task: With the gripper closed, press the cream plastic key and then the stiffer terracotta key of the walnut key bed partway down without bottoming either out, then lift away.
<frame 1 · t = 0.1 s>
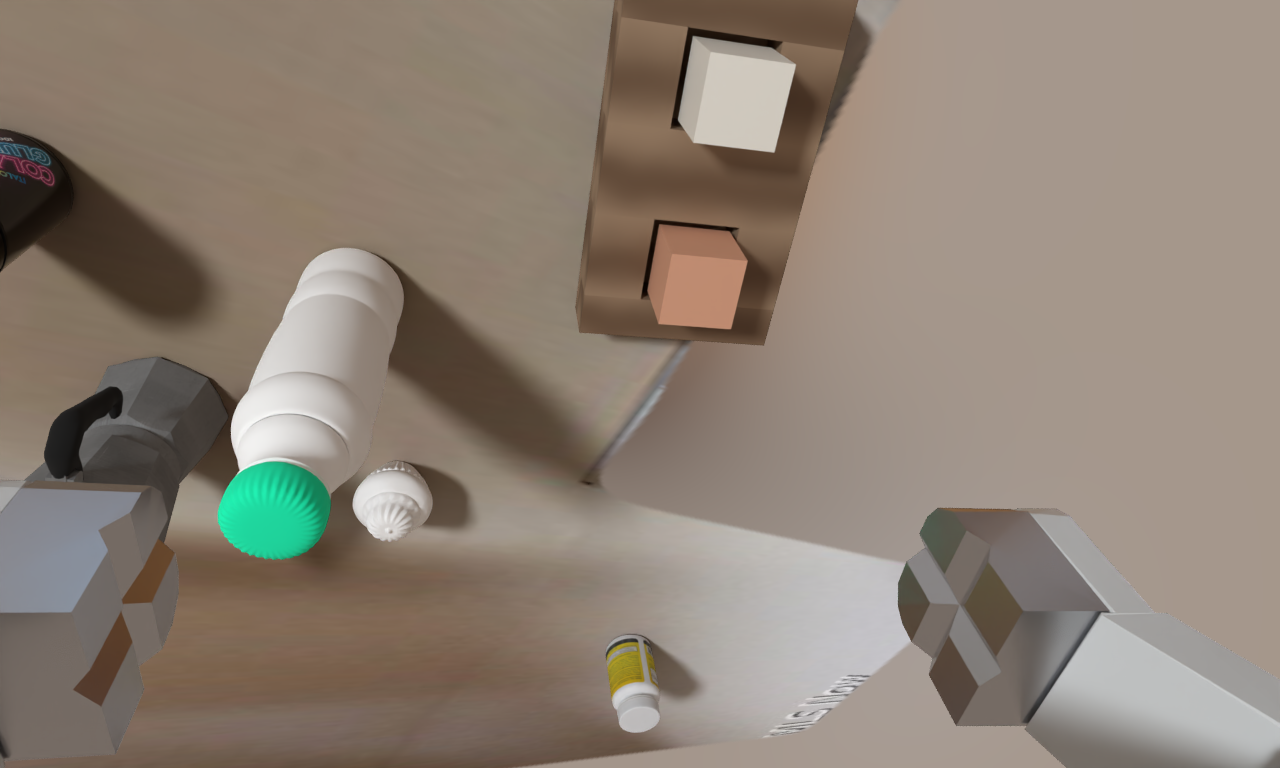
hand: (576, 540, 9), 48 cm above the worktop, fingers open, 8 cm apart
muffin: (398, 474, 67), on the worktop
water bottle: (354, 288, 58), on the worktop
coffeepot: (163, 393, 60), on the worktop
supplement bottle: (627, 646, 83), on the worktop
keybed: (694, 161, 56), on the worktop
terracotta key: (694, 276, 54), point 6 cm above the worktop, slide at 0.0 cm
supplement container: (19, 177, 50), on the worktop
cream key: (733, 93, 48), point 6 cm above the worktop, slide at 0.0 cm
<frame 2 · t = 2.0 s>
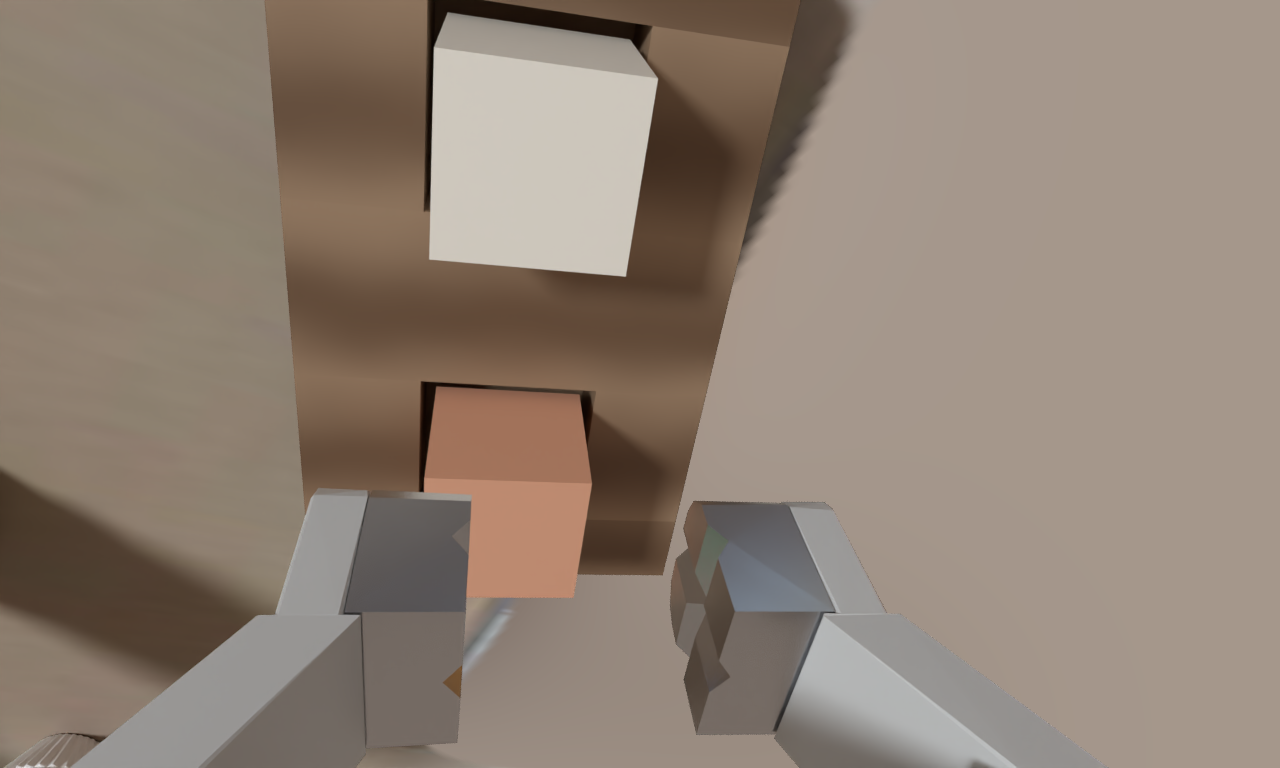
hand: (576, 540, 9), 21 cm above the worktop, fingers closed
muffin: (73, 748, 40), on the worktop
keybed: (515, 258, 29), on the worktop
terracotta key: (504, 491, 27), point 6 cm above the worktop, slide at 0.0 cm
cream key: (535, 142, 21), point 6 cm above the worktop, slide at 0.0 cm
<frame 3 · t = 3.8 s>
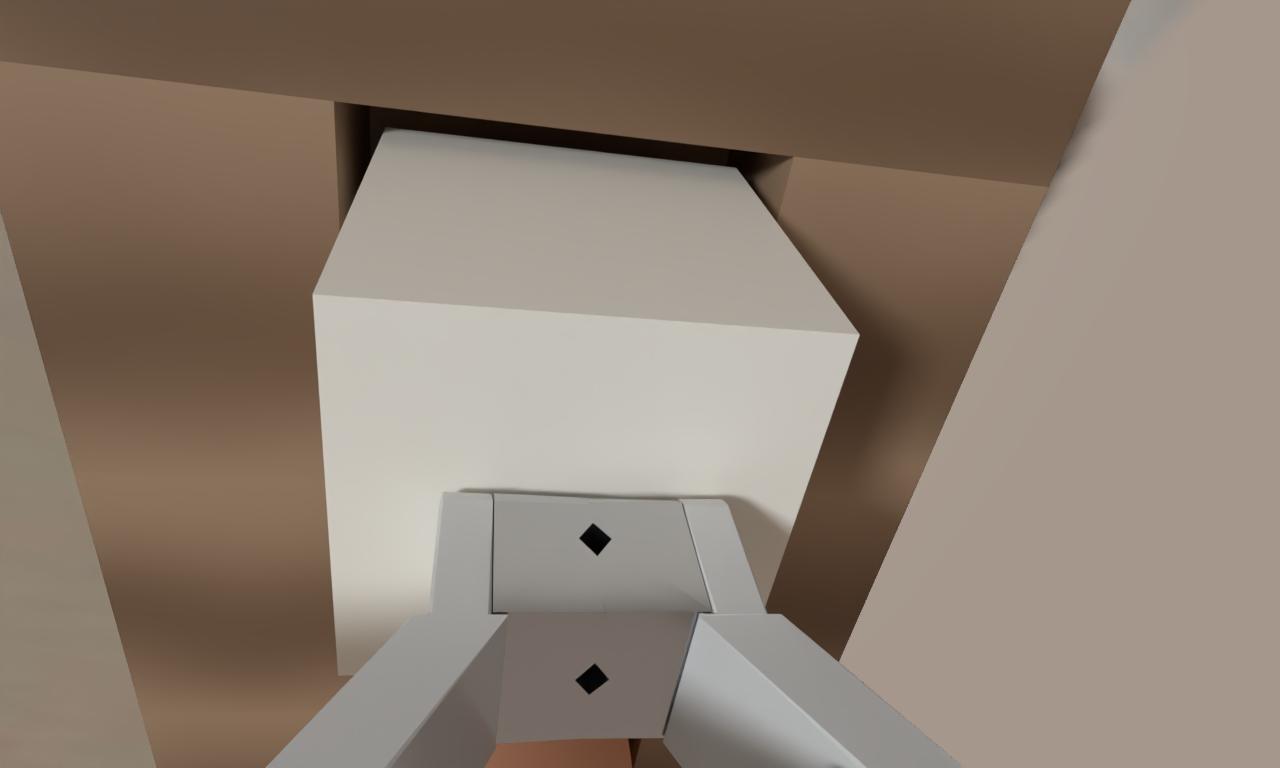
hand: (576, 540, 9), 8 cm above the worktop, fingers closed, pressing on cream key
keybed: (519, 472, 18), on the worktop
cream key: (560, 391, 11), point 6 cm above the worktop, slide at 0.4 cm, touching gripper
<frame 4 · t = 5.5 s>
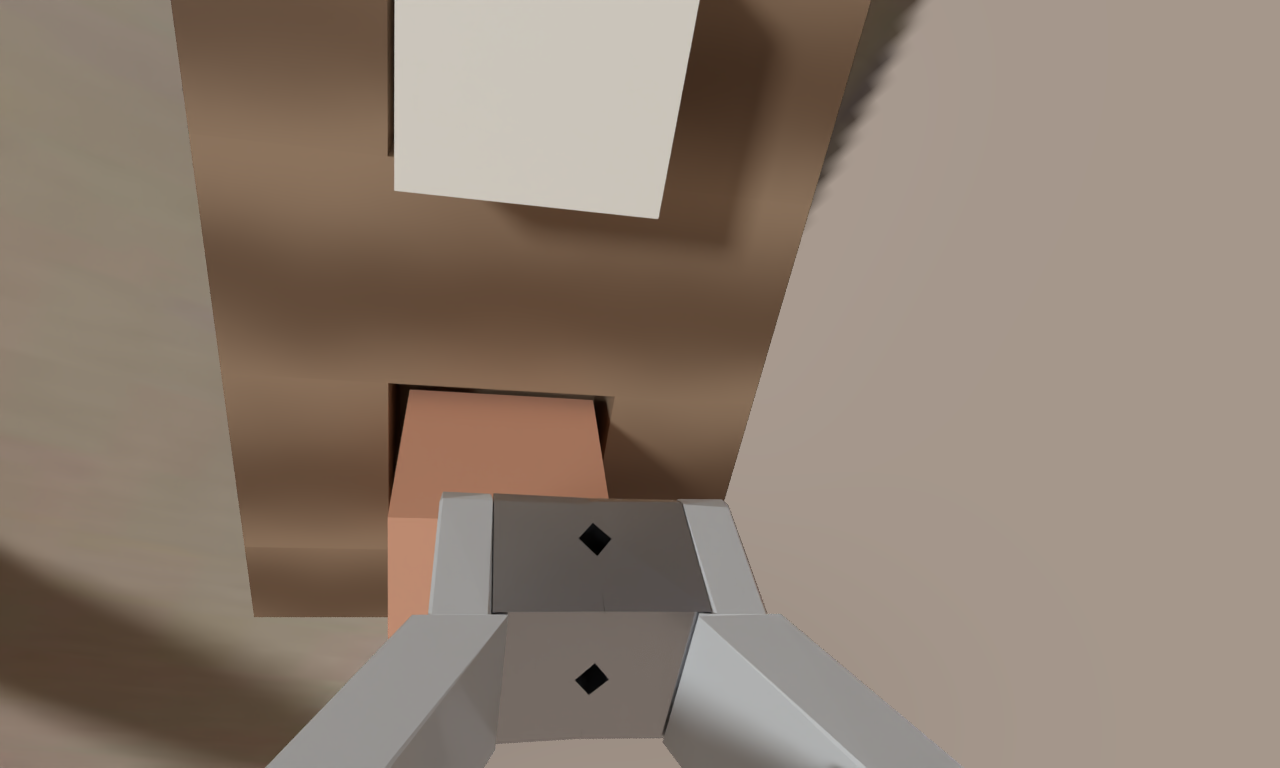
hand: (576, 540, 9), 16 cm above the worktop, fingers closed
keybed: (512, 226, 23), on the worktop
terracotta key: (496, 524, 21), point 6 cm above the worktop, slide at 0.0 cm
cream key: (538, 40, 16), point 5 cm above the worktop, slide at 1.2 cm
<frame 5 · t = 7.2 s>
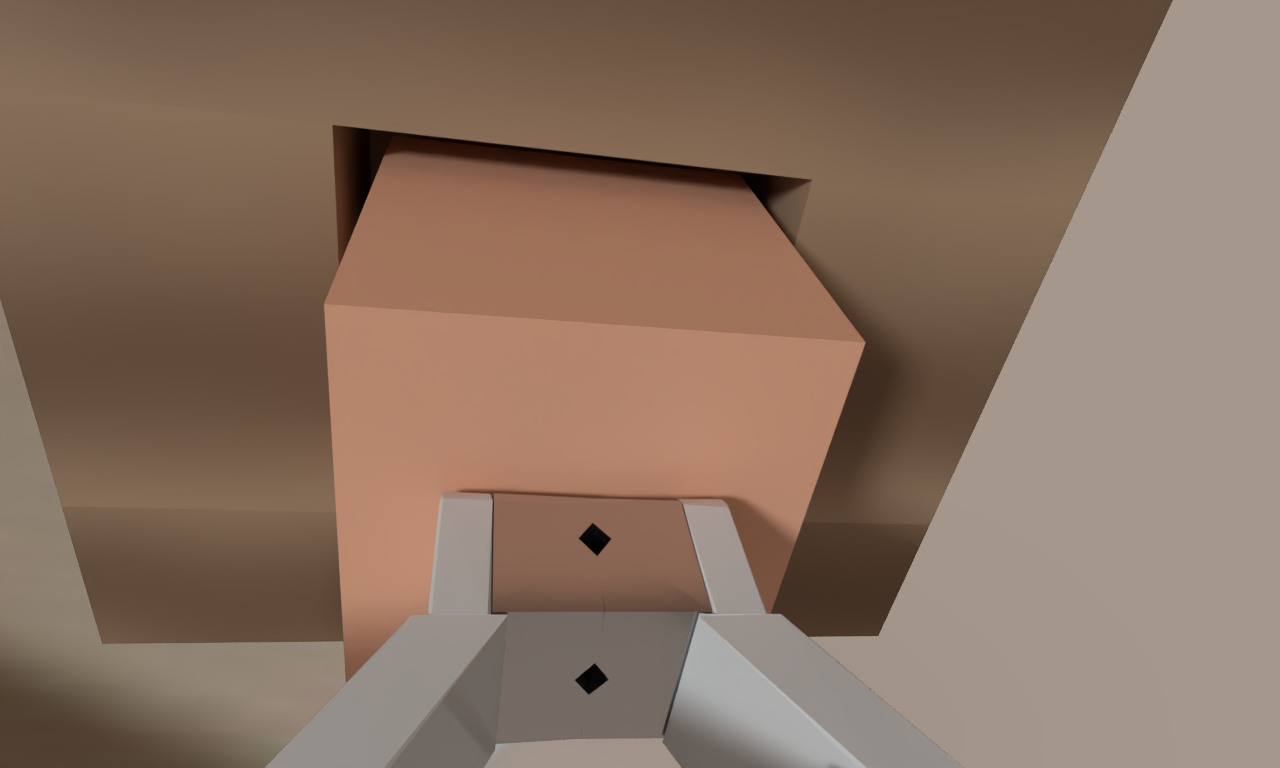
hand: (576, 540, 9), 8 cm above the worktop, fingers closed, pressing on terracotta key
terracotta key: (566, 398, 11), point 5 cm above the worktop, slide at 1.0 cm, touching gripper
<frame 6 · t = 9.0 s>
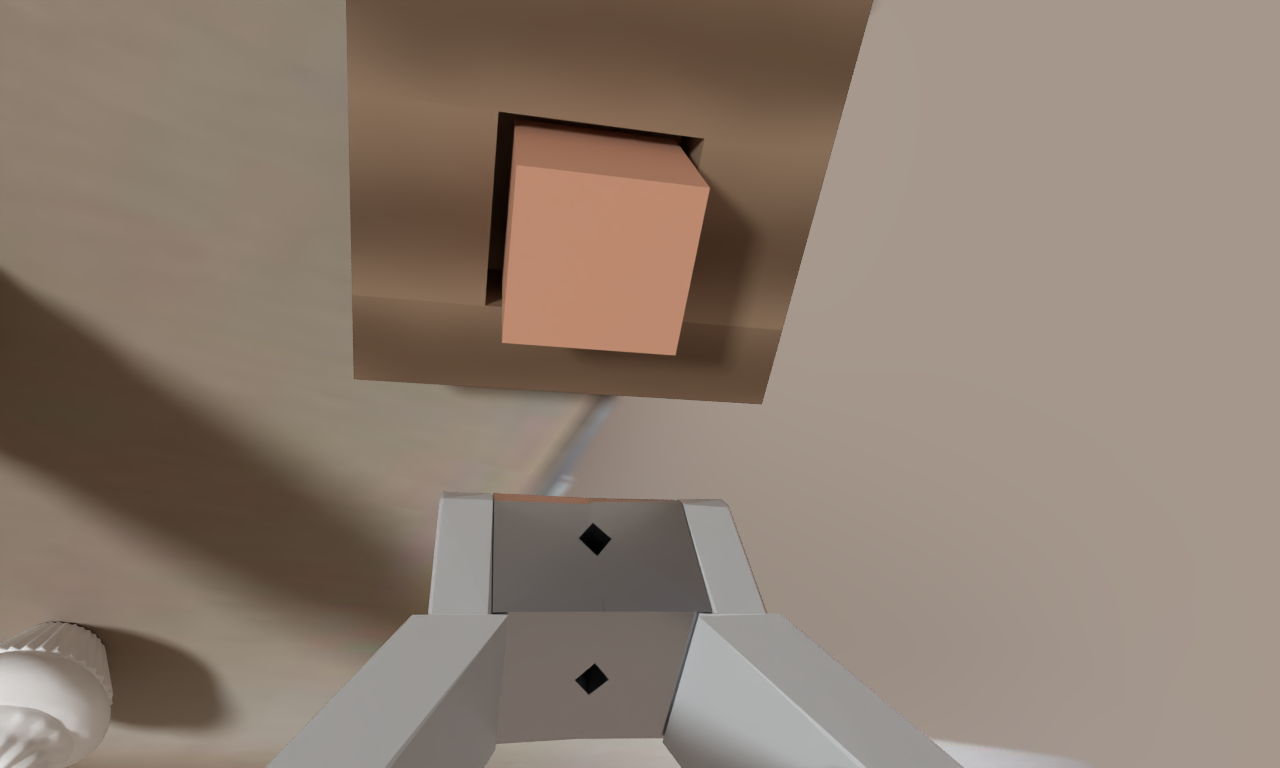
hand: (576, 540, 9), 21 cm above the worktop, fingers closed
muffin: (66, 643, 35), on the worktop
terracotta key: (593, 235, 24), point 5 cm above the worktop, slide at 1.1 cm
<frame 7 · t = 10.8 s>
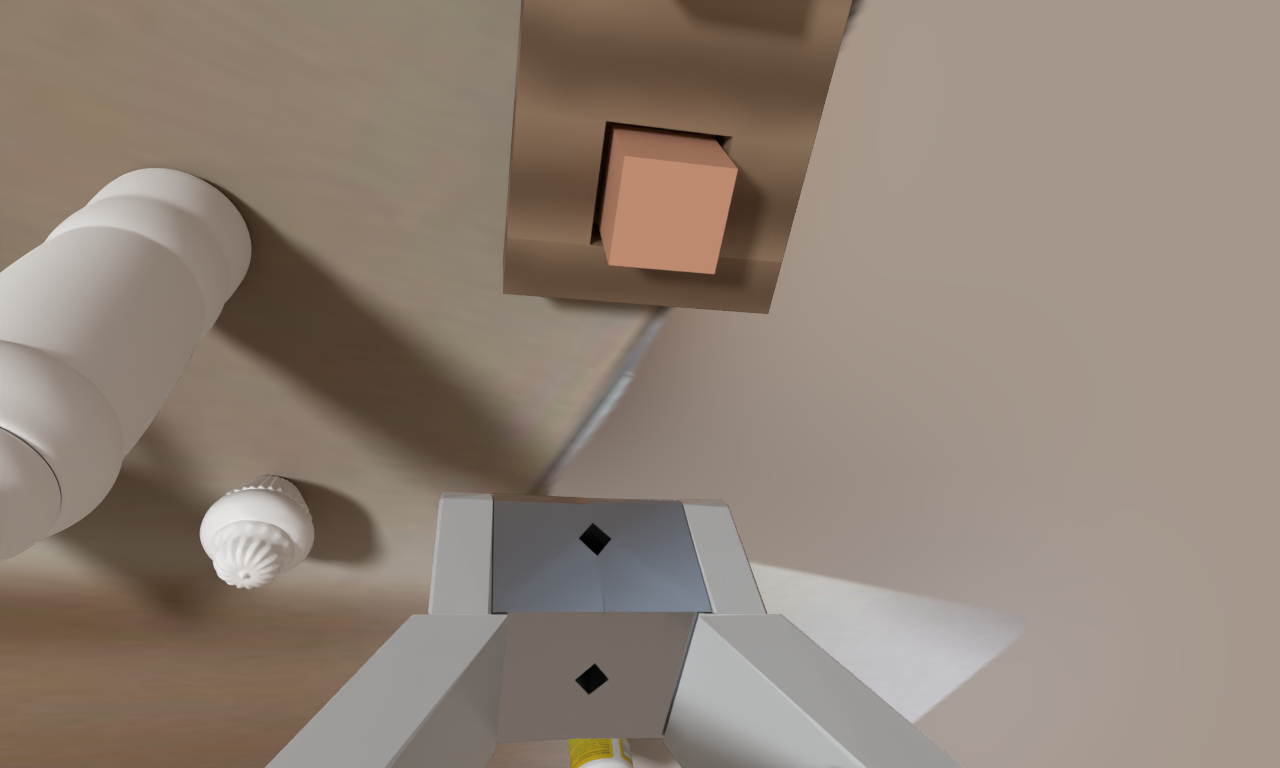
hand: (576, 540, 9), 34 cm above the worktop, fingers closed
muffin: (273, 493, 50), on the worktop
water bottle: (180, 231, 40), on the worktop
supplement bottle: (595, 705, 66), on the worktop
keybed: (666, 43, 38), on the worktop
terracotta key: (662, 198, 37), point 5 cm above the worktop, slide at 1.1 cm
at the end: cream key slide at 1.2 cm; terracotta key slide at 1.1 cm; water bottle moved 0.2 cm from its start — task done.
